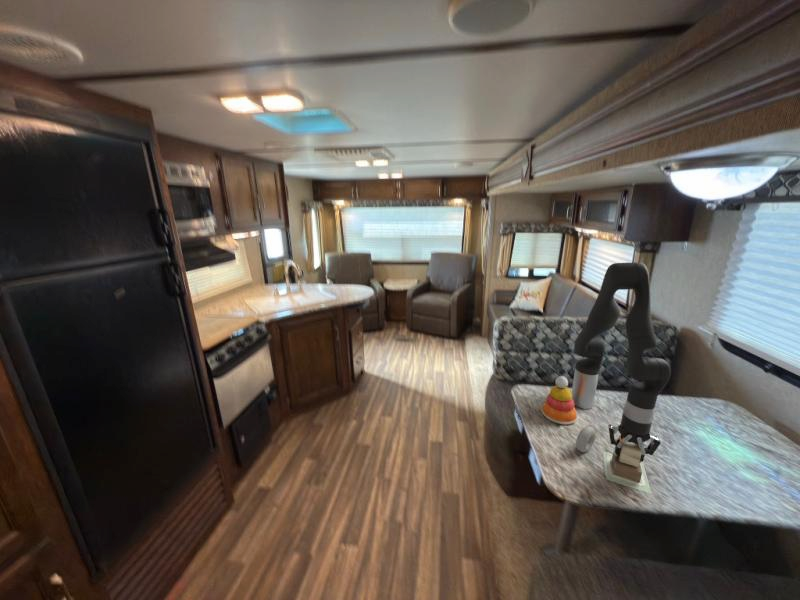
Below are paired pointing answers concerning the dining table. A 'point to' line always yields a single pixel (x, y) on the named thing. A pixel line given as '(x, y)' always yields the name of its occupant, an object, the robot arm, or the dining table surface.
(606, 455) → the build board
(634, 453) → the maple block
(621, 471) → the walnut block
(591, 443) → the donut
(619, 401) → the dining table surface
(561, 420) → the stacking toy
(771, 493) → the dining table surface
